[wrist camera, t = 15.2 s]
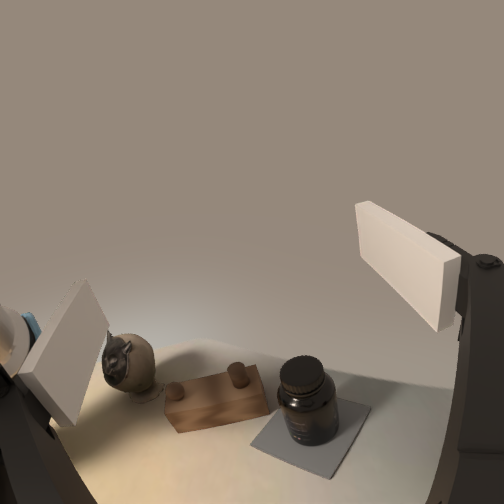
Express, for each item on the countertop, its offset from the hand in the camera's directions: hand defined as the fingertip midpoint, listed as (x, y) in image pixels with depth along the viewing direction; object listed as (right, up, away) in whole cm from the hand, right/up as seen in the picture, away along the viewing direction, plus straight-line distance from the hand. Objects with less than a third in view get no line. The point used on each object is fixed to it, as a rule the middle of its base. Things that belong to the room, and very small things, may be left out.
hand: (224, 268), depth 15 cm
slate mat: (+9, -23, +23) cm, 34 cm away
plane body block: (-3, -23, +30) cm, 38 cm away
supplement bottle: (+9, -23, +23) cm, 34 cm away
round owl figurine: (-18, -24, +38) cm, 48 cm away
